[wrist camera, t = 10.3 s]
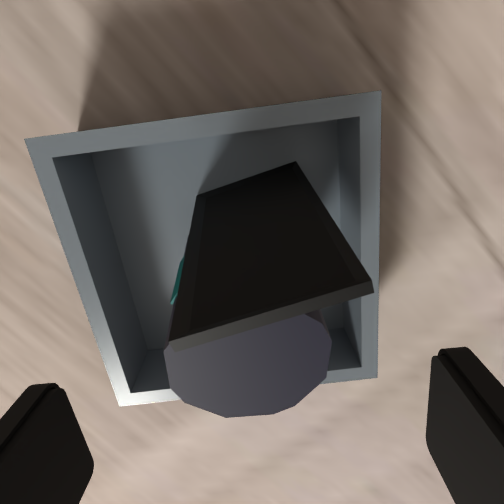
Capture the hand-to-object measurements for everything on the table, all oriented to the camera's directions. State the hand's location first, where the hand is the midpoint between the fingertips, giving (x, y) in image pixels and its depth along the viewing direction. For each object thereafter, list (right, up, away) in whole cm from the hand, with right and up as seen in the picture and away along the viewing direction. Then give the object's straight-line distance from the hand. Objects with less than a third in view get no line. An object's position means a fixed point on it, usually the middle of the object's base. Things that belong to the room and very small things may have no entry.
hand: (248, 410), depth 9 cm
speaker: (0, +5, +10) cm, 11 cm away
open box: (-1, +5, +11) cm, 12 cm away
